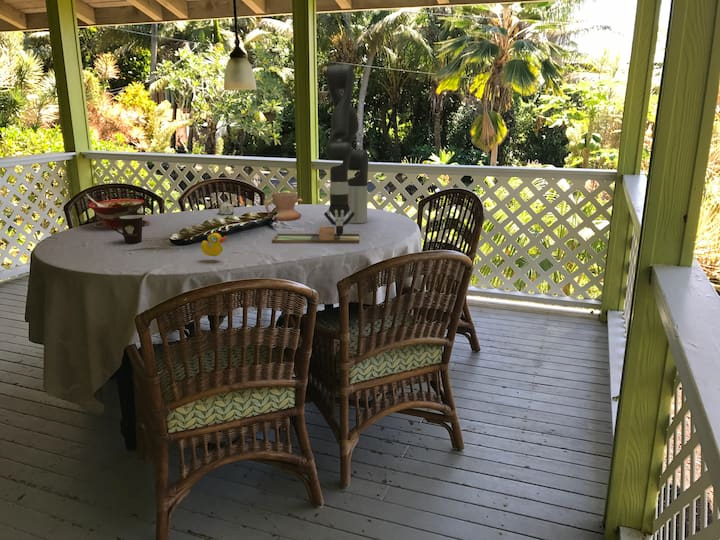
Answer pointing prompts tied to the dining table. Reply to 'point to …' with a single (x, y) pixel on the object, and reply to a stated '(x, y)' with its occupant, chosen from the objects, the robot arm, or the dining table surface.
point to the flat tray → (306, 239)
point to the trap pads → (318, 238)
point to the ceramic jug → (285, 206)
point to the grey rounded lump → (226, 208)
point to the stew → (116, 210)
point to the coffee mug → (130, 228)
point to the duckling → (213, 245)
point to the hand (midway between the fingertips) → (339, 234)
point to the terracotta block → (326, 233)
